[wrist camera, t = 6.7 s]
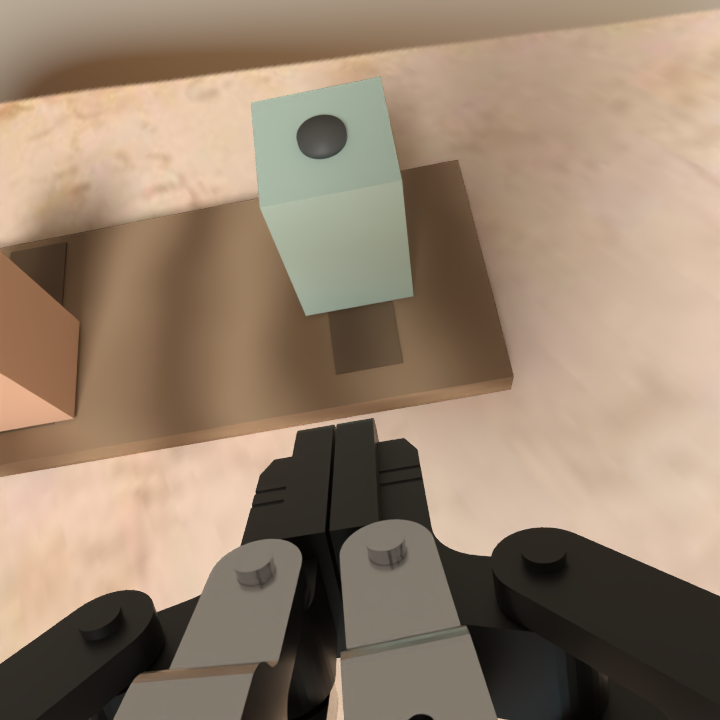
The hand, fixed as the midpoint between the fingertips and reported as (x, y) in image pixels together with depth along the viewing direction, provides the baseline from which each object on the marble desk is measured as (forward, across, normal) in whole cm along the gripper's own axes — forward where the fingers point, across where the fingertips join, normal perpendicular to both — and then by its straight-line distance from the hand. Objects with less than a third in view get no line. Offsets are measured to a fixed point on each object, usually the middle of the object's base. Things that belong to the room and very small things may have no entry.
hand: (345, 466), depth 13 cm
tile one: (+19, 0, 0) cm, 19 cm away
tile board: (+20, +8, +2) cm, 21 cm away
